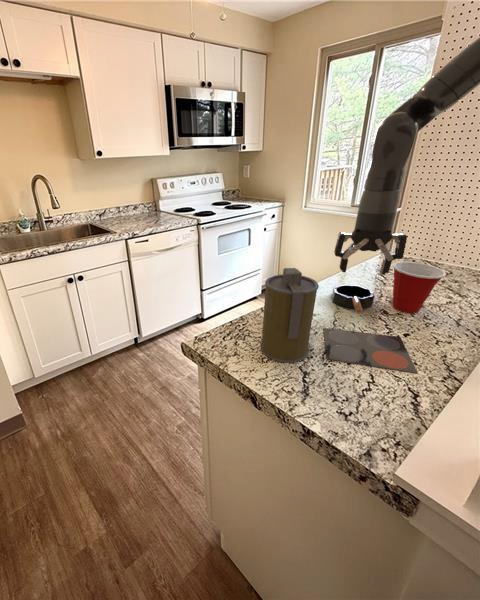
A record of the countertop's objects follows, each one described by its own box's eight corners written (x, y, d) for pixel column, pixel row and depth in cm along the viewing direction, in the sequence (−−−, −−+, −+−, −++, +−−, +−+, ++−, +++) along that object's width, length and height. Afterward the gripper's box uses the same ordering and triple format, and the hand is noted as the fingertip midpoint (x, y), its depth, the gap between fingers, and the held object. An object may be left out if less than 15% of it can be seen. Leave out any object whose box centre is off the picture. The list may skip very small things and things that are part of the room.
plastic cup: (433, 321, 79) (449, 277, 73) (381, 312, 85) (392, 271, 80) (431, 304, 86) (445, 263, 81) (383, 297, 92) (393, 258, 87)
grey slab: (399, 337, 74) (400, 336, 74) (417, 373, 63) (417, 372, 62) (323, 328, 80) (323, 327, 80) (327, 359, 69) (327, 358, 69)
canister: (256, 337, 79) (262, 264, 71) (300, 337, 77) (311, 262, 69) (264, 363, 70) (272, 282, 61) (314, 364, 68) (329, 280, 59)
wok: (367, 296, 94) (370, 284, 92) (379, 324, 79) (383, 311, 78) (330, 293, 98) (333, 282, 96) (335, 320, 83) (338, 306, 82)
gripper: (344, 212, 74) (332, 275, 81) (419, 211, 68) (400, 280, 75) (340, 206, 80) (330, 266, 87) (410, 205, 74) (392, 269, 81)
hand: (362, 272), depth 81 cm, fingers open, 8 cm apart
